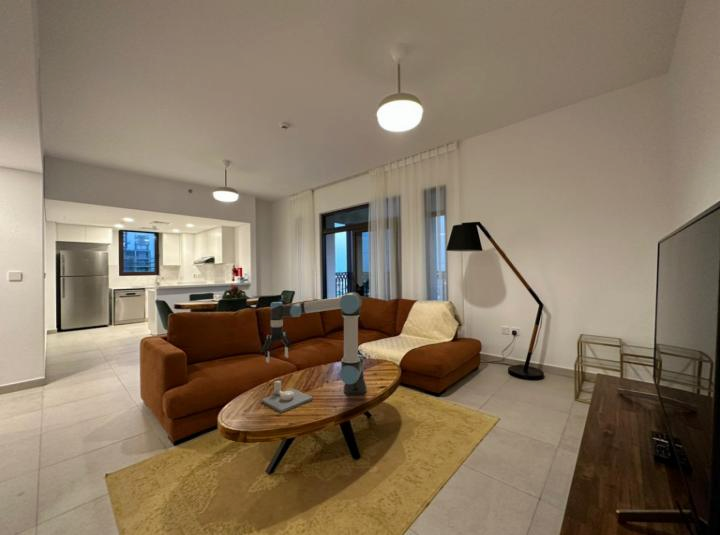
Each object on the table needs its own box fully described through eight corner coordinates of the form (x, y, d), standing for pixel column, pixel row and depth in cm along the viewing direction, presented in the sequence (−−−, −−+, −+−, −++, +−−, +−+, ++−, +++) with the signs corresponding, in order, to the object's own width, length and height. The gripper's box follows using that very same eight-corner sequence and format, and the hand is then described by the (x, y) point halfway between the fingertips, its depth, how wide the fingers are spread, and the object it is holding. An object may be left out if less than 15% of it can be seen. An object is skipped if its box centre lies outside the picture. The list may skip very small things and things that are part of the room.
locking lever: (296, 397, 174) (296, 385, 174) (285, 401, 168) (284, 389, 168) (281, 390, 185) (281, 379, 186) (270, 394, 180) (270, 382, 180)
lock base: (312, 399, 174) (312, 396, 174) (281, 412, 158) (281, 409, 158) (292, 390, 189) (292, 387, 189) (261, 401, 173) (261, 399, 173)
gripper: (290, 323, 195) (290, 354, 194) (255, 328, 176) (256, 363, 175) (296, 324, 189) (297, 356, 189) (261, 329, 171) (262, 365, 170)
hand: (277, 359), depth 182 cm, fingers open, 13 cm apart
